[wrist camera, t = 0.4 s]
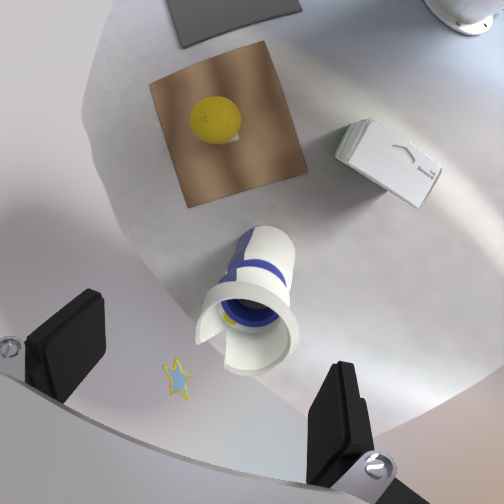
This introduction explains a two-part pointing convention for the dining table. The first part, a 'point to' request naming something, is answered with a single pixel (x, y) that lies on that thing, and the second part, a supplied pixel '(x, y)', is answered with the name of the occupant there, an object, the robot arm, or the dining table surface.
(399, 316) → the dining table surface
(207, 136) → the lemon
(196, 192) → the board
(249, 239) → the water bottle
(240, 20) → the rubber mat
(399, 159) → the ink box
